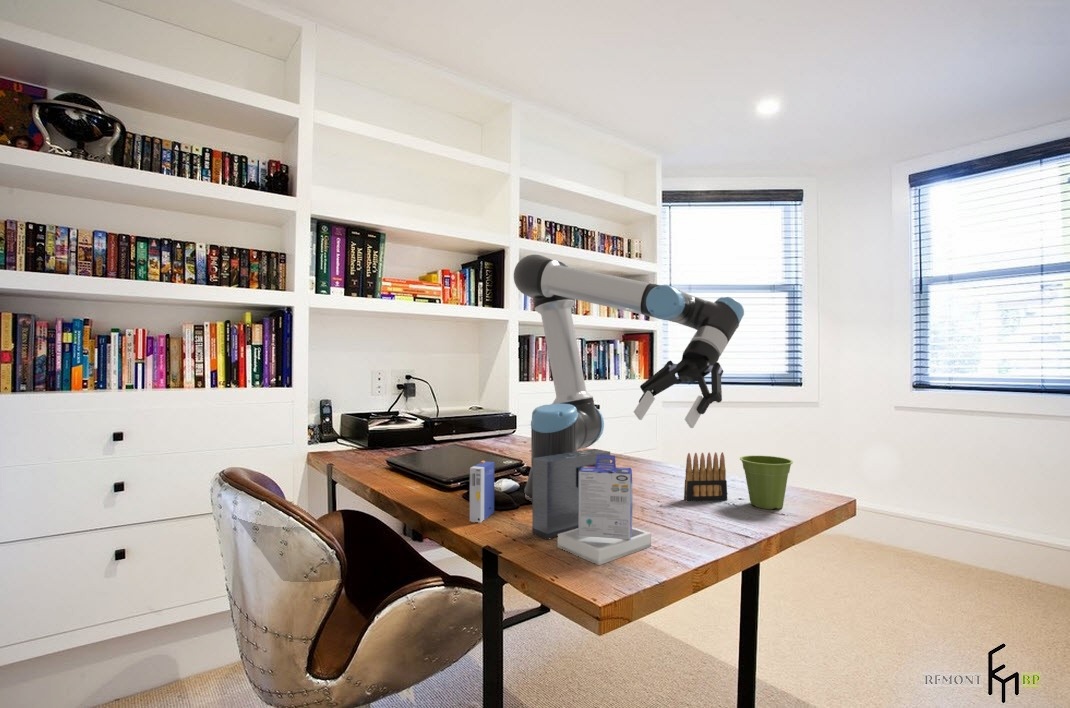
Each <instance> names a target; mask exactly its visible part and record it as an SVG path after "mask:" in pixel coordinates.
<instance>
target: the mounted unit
mask: <svg viewBox="0 0 1070 708" xmlns="http://www.w3.org/2000/svg"><path fill="white" fill-rule="evenodd" d="M597 455H611V451H609V450H608V451H607V450H604V449H598V448H591V449H585V450H584V449H583V450H579V451H578V450H577V452H570V453H564V454H557V455H551V456H544V457H538V458H533V498H532V502H531V503H532V515H531V516H532V519H531V522H532V526H531V527H532V530H531V531H532V533H533V534H532V533H531V534H532V535H535V534H536V535H535V536H537V535H538V536H537V537H539V536H540V538H542V537H543V538H542V539H544V538H546V539H548V540H550V539H549V538H552V539H554V538H553V537H555V538H558V537H557V536H558V534H560V533H563V532H567V531H570V530H574V529H577V528H578V503H579V498H578V497H579V471H580V469H581V468H582V466H586V467H595V466H596V460H597ZM599 462H601V463H611V460H610V459H601V460H599ZM546 539H545V540H546Z"/></svg>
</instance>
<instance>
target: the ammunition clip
mask: <svg viewBox="0 0 1070 708" xmlns="http://www.w3.org/2000/svg"><path fill="white" fill-rule="evenodd" d="M725 459H726V458H725V454H724V452H721V454H720V456H719V458H718V453H717V452H714V454H713V459H712V456H711V453H710V452H708V453H707V457H706V458H705V454H704V452H701V454H700V458H699V456H698V454H697V452H695V453H694V455H693V461H692V455H691V453H690V452H688V454H687V456H686V463H685V466H686V467H685V479H684V491H683V492H684V493H683V500H684V501H686V502H688V503H689V502H718V501H728V486H727V478H726V477H727V473H726V472H727V471H726V460H725ZM712 460H713V461H712Z"/></svg>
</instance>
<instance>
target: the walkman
mask: <svg viewBox="0 0 1070 708" xmlns="http://www.w3.org/2000/svg"><path fill="white" fill-rule="evenodd" d="M491 514H492V515H493V514H495V461H486V460H481V461H480V462H479V463H478V464H475V465H473V466H471V467H470V468H469V522H470V521H471V522H470V523H475V522H478V524H481V523H483V522H484V521H485V520H487V519H488V518H489V517H490V516H492V515H491ZM486 518H487V519H486ZM483 520H484V521H483ZM482 521H483V522H482Z"/></svg>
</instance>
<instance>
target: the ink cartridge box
mask: <svg viewBox="0 0 1070 708" xmlns="http://www.w3.org/2000/svg"><path fill="white" fill-rule="evenodd" d="M601 459H610V461H612V462H610V463H601V462H599V460H601ZM616 462H617V461H616V455H611V454H610V455H597V460H596V466H595V467H586V466H582V468H581V469H580V471H579V497H578V498H579V503H578V536H589V537H603V538H616V539H631V534H632V527H633V470H632V468H631V467H623V466H622V467H621V466H620V467H618V466H617V465H616Z"/></svg>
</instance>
